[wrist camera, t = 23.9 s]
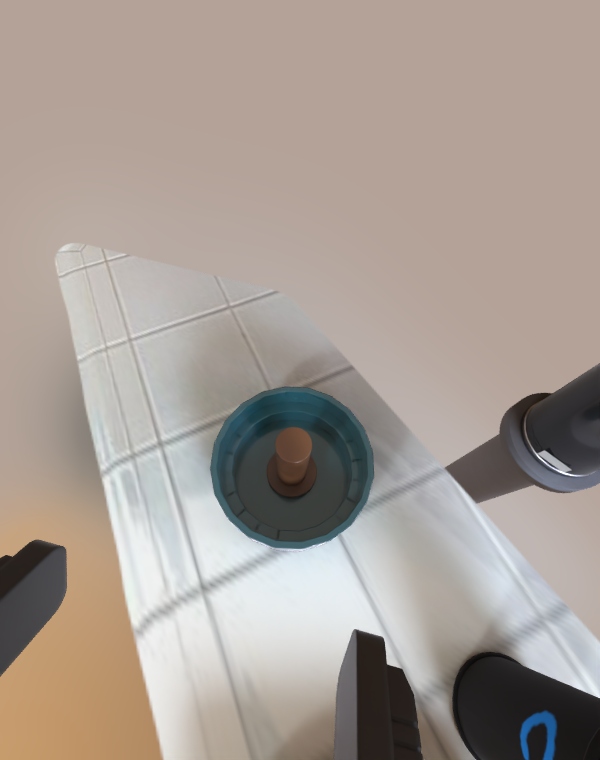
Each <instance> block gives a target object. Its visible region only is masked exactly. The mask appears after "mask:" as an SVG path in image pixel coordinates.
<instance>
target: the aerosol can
mask: <svg viewBox="0 0 600 760" xmlns="http://www.w3.org/2000/svg"><path fill="white" fill-rule="evenodd" d="M453 712H454V716H455V721H456V725H457V727H458V730H459V733H460V736H461V738H462V739H463V741H464V743H465V745H466V747H467V748H468V750H469V751H470V752H471V754H472V755H473V756H474V758H475V759H476V760H600V698H598V697H595V696H593V695H590V694H588V693H586V692H583V691H581V690H579V689H576V688H574V687H572V686H569V685H567V684H564V683H562V682H560V681H557V680H555V679H553V678H550V677H548V676H545V675H543V674H541V673H538V672H536V671H534V670H531V669H529V668H527V667H524V666H522V665H521V664H520V663H519V662H517V661H516V660H514V659H512V658H511V657H509V656H506V655H504V654H501V653H495V652H486V653H481V654H478V655H476V656H473V657H472V658H471V659H469V660H468V661H467V662H466V663H465V664H464V665H463V667H462V668H461V669H460V671H459V673H458V675H457V677H456V681H455V684H454V689H453Z"/></svg>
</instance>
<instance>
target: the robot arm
mask: <svg viewBox="0 0 600 760" xmlns="http://www.w3.org/2000/svg"><path fill="white" fill-rule="evenodd" d="M520 430H521V436H522V439H523V442H524V444H525V446H526V448H527V450H528V452H529V453H530V454H531V456H532V457H533V458H534V459H535V460H536V461H537V462H538V463H539V464H540V465H542V466H543V467H544V468H546V469H547V470H549V471H551V472H553V473H555V474H557V475H560V476H563V477H568V478H580V477H584V476H587V475H591V474H593V473H595V472H597V471H600V363H599V364H598V365H596V366H595V367H593V368H592V369H590V370H589V371H587V372H585V373H584V374H582V375H581V376H579V377H578V378H576V379H575V380H573V381H571V382H570V383H568V384H567V385H566V386H564V387H562V388H561V389H559V390H558V391H556V392H554V393H553V394H551V395H550V396H548V397H546V398H545V399H543V400H542V401H539V402H537V403H535V404H534V405H532V406H531V407H530V408H528V409H527V410H526V412H525V413H524V415H523V417H522V420H521V425H520ZM66 588H67V568H66V549H65V548H64V547H63V546H60V545H56V544H52V543H48V542H45V541H42V540H34V541H32V542H30V543H29V544H27V545H26V546H25V547H24V548H23V549H22V550H20V551H19V552H18V553H17V554H16V555H14V556H13V557H12V556H8V555H5V556H3V557H1V558H0V676H1V675H2V674H3V673H4V672H5V671H6V669H7V668H8V667H9V666H10V665H11V663H12V662H13V661H14V660H15V659H16V658H17V657H18V656H19V654H20V653H21V652H22V651H23V650H24V648H25V647H26V646H27V645H28V644H29V642H31V640H32V639H33V638H34V637H35V635H37V633H38V632H39V631H40V630H41V629H42V628H43V627H44V625H45V624H46V623H47V622H48V621H49V620H50V618H51V617H52V616H53V615H54V614H55V612H56V611H57V610H58V608H59V606H60V605H61V603H62V601H63V599H64V596H65V593H66ZM417 725H418V721H417V713H416V706H415V699H414V694H413V692H412V690H411V687H410V685H409V683H408V681H407V679H406V676H405V674H404V672H403V670H402V669H400V668H397V667H393V666H390V665H387V662H386V650H385V642H384V638H383V637H381V636H377V635H374V634H370V633H367V632H363V631H359V630H356V629H354V630H353V633H352V635H351V638H350V641H349V644H348V648H347V651H346V654H345V657H344V660H343V663H342V666H341V669H340V673H339V678H338V685H337V695H336V715H335V739H334V760H423V757H422V754H421V742H420V735H419V729H418V727H417Z"/></svg>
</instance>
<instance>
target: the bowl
mask: <svg viewBox="0 0 600 760" xmlns="http://www.w3.org/2000/svg"><path fill="white" fill-rule="evenodd" d="M289 427H298V428H301V429H303V430H304V431H306V432H307V433H308V434H309V436H310V438H311V441H312V449H311V454H310V455H311V457H312V458H313V460H314V462H315V464H316V469H317V475H316V479H315V482H314V485H313V487H312V488H311V490H310V491H309V492H308V493H307V494H305V495H304V496H302V497H299V498H295V499H288V498H284V497H281V496H279V495H278V494H276V493H275V492H274V491H273V489H272V488H271V487H270V485H269V482H268V478H267V466H268V463H269V461H270V459H271V457H272V456H273V455H274V454H275V453H276V450H275V442H276V438H277V436H278V435H279V433H280V432H281V431H283V430H284V429H286V428H289ZM210 468H211V469H210V471H211V476H212V482H213V488H214V494H215V496H216V498H217V500H218V502H219V504H220V506H221V507H222V509H223V511H224V513H225V515H226V517H227V518H228V519H229V520H230V521H231V522H232V523H233V524H234V525H235V526H236V527H238V528H239V529H240V530H241V531H242V532H243V533H244V534H245V535H246V536H247V537H249V538H250V539H251V540H253V541H254V542H257V543H259V544H262V545H264V546H266V547H269V548H271V549H274V550H279V551H299V552H300V551H304V550H307V549H310V548H314V547H317V546H320V545H323V544H325V543H327V542H329V541H330V540H332V539H333V538H334V537H336V536H337V535H339V534H340V533H341V532H343V531H344V530H345V529H347V528H348V527H349V526H351V524H353V522H354V521H355V519H356V518H357V516H358V515H359V513H360V512H361V510H362V509H363V508H364V506H365V505H366V503H367V501H368V497H369V494H370V490H371V486H372V483H373V479H374V465H373V451H372V448H371V445H370V442H369V440H368V437H367V434H366V432H365V429H364V427H363V426H362V425H361V424H360V422H359V421H358V420H357V418H356V417H355V416H354V414H353V413H352V412H351V411H350V410H349V409H348V408H347V407H346V406H344V405H343V404H341V403H340V402H339V401H337V400H336V399H334V398H333V397H332V396H330V395H327V394H324V393H322V392H319V391H316V390H313V389H310V388H302V387H281V388H277V389H273V390H268V391H264V392H261V393H260V394H258V395H256V396H254V397H253V398H251V399H249V400H247V401H246V402H244V403H242V404H241V405H240V406H239V407H238V408H237V409H236V410H235V411H234V412H233V413H232V414H231V415H230V416H229V417H228V419H227V420H226V421H225V422H224V424H223V426H222V428H221V430H220V432H219V434H218V436H217V438H216V440H215V442H214V447H213V453H212V460H211V466H210Z"/></svg>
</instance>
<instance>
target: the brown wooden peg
mask: <svg viewBox="0 0 600 760" xmlns="http://www.w3.org/2000/svg"><path fill="white" fill-rule="evenodd" d="M311 449H312V441H311V438H310V436H309V434H308V433H307V432H306V431H304V430H303V429H301V428H298V427H289V428H286V429H284V430H283V431H281V432H280V433H279V435H278V436H277V438H276V442H275V450H276V453H275V454H274V455H273V456H272V457H271V459H270V461H269V463H268V466H267V478H268V482H269V485H270V487H271V488H272V489H273V491H274V492H275V493H276V494H278V495H279V496H281V497H284V498H288V499H295V498H299V497H302V496H304V495H305V494H307V493H308V492H309V491H310V490H311V488H312V487H313V485H314V482H315V479H316V475H317V469H316V464H315V462H314V460H313V458H312V457H311V455H310V454H311Z"/></svg>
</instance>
